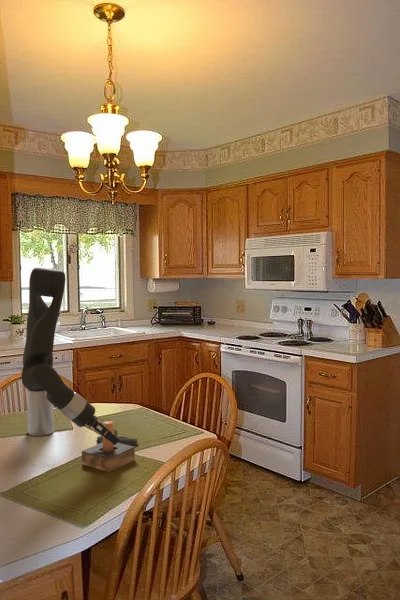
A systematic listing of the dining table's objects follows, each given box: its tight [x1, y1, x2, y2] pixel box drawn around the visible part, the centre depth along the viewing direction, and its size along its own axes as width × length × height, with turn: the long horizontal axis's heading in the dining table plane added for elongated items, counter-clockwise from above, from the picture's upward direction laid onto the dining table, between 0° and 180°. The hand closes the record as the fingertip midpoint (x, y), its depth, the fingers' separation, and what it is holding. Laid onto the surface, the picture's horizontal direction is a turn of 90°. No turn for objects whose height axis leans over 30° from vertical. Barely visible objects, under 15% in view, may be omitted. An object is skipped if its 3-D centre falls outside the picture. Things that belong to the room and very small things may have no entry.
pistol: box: [95, 429, 138, 447], centre depth 180 cm, size 3×15×12 cm
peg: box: [102, 420, 115, 453], centre depth 159 cm, size 4×4×12 cm
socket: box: [81, 442, 136, 473], centre depth 159 cm, size 12×12×4 cm
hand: (113, 438), depth 160 cm, fingers open, 6 cm apart
